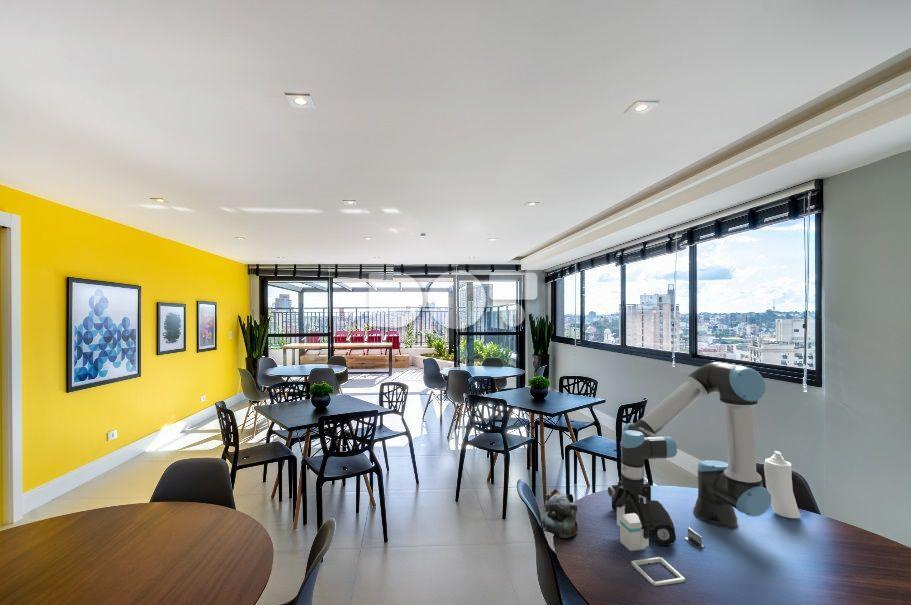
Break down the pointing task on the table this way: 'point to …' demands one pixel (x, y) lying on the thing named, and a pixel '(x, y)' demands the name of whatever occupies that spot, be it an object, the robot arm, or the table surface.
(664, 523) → the portable speaker
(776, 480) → the white bottle
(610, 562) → the table surface
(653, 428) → the robot arm
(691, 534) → the card holder
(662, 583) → the tray
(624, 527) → the block
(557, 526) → the lucky cat figurine
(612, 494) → the camcorder
